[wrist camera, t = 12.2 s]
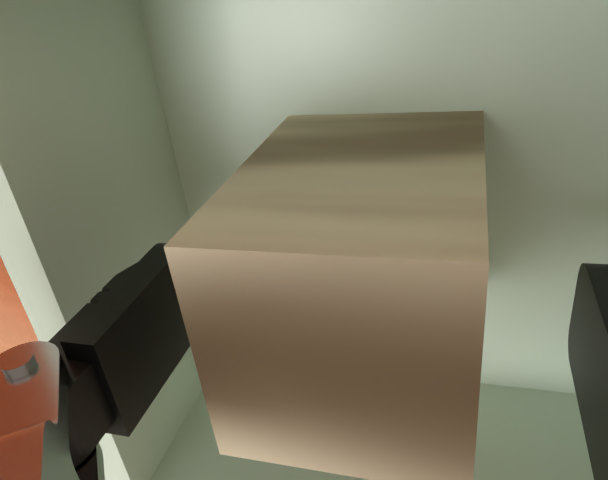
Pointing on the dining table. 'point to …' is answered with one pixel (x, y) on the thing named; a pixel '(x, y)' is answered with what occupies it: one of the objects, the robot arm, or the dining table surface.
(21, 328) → the dining table surface
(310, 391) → the block
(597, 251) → the bin
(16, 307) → the dining table surface
